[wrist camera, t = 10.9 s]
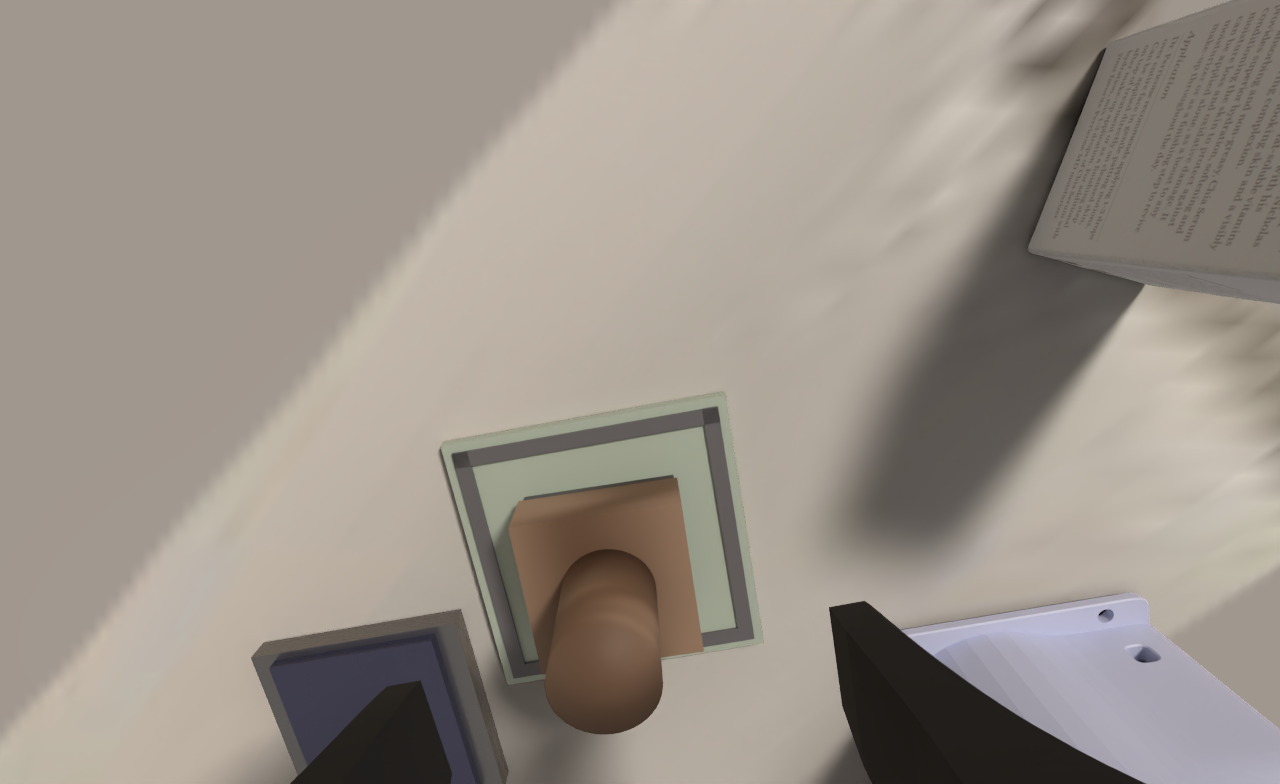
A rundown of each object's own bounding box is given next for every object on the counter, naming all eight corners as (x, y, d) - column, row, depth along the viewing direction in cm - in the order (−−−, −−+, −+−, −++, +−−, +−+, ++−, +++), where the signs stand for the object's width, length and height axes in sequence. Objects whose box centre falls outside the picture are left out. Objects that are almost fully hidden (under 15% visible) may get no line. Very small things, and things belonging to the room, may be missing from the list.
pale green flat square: (723, 391, 21) (726, 395, 21) (761, 635, 23) (764, 644, 23) (443, 441, 21) (439, 447, 21) (509, 677, 24) (507, 687, 23)
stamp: (676, 470, 21) (694, 578, 15) (696, 607, 23) (721, 755, 17) (520, 494, 21) (477, 609, 15) (550, 628, 23) (521, 783, 17)
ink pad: (460, 609, 23) (451, 630, 22) (508, 771, 25) (502, 799, 24) (263, 642, 23) (244, 665, 22) (325, 801, 25) (310, 830, 24)
